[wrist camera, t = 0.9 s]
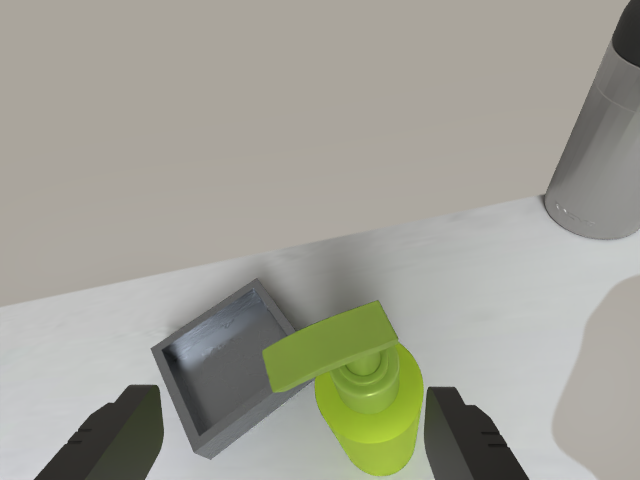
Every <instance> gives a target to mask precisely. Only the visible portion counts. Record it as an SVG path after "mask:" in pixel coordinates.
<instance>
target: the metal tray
mask: <svg viewBox="0 0 640 480" xmlns="http://www.w3.org/2000/svg"><path fill="white" fill-rule="evenodd" d="M295 332H296V331H295V329H294V328H293V327H292V325H291V324H290V323H289V321H288V320H287V319H286V317H285V316H284V315H283V313H282V312H281V310H280V309H279V308H278V306H277V305H276V304H275V302H274V301H273V300H272V298H271V297H270V295H269V294H268V293H267V291H266V290H265V289H264V287H263V286H262V285H261V283H260V282H259V280H258V279H255V280H254V281H252V282H251V283H249V284H247V285H246V286H244V287H243V288H241V289H240V290H238V291H237V292H235V293H234V294H232V295H231V296H229V297H228V298H226V299H225V300H223V301H222V302H220V303H219V304H217V305H216V306H214V307H213V308H211V309H210V310H208V311H207V312H205V313H204V314H202V315H201V316H199V317H198V318H196V319H195V320H193V321H192V322H190V323H189V324H187V325H186V326H184V327H183V328H181V329H180V330H178V331H176V332H175V333H173V334H172V335H170V336H169V337H167V338H166V339H164V340H163V341H161V342H160V343H158V344H157V345H155V346H154V347H152V348H151V351H152V353H153V356H154V358H155V360H156V363H157V365H158V368H159V370H160V372H161V375H162V377H163V380H164V382H165V384H166V387H167V389H168V392H169V394H170V396H171V399H172V401H173V404H174V406H175V408H176V411H177V413H178V416H179V418H180V420H181V423H182V425H183V428H184V430H185V432H186V435H187V437H188V440H189V442H190V444H191V447H192V449H193V452H194V453H196V454H198V455H201V456H203V457H206V458H208V459H210V460H211V459H212V458H213V457H215V456H216V455H217V454H218V453H220V452H221V451H222V450H224V449H225V448H226V447H227V446H229V445H230V444H231V443H233V442H234V441H235V440H237V439H238V438H239V437H240V436H242V435H243V434H244V433H246V432H247V431H248V430H249V429H251V428H252V427H253V426H255V425H256V424H257V423H258V422H260V421H261V420H262V419H264V418H265V417H266V416H267V415H269V414H270V413H271V412H273V411H274V410H275V409H277V408H278V407H279V406H280V405H282V404H283V403H284V402H286V401H287V400H288V399H289V398H291V397H292V396H293V395H295V394H296V393H297V392H298V391H300V390H301V389H302V388H304V387H305V386H306V385H308V384H309V383H310V382H311V381H313V380H314V379H315V377H314V378H312V379H310V380H308V381H306V382H304V383H302V384H299V385H298V386H296V387H294V388H292V389H290V390H288V391H285V392H277V393H274V392H272V389H271V385H270V381H269V378H268V374H267V370H266V366H265V362H264V358H263V354H262V351H263V350H264V349H265V348H267V347H269V346H271V345H272V344H274V343H276V342H278V341H280V340H281V339H283V338H285V337H287V336H289V335H291V334H293V333H295Z"/></svg>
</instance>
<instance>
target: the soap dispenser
mask: <svg viewBox="0 0 640 480" xmlns="http://www.w3.org/2000/svg"><path fill="white" fill-rule="evenodd" d="M262 354H263V358H264V362H265V366H266V370H267V374H268V378H269V381H270V385H271V389H272V392H274V393H277V392H285V391H288V390H290V389H292V388H294V387H296V386H298V385H299V384H302V383H304V382H306V381H308V380H310V379H312V378H314V377H315V396H316V401H317V404H318V407H319V410H320V412H321V414H322V416H323V417H324V419H325V420H326V422H327V424H328V425H329V427H330V428H331V430H332V432H333V433H334V435H335V436H336V438H337V439H338V441H339V443H340V444H341V446H342V447H343V449H344V450H345V452H346V454H347V455H348V457H349V458H350V460H351V461H352V462H353V463H354V465H356V466H357V467H358V468H359V469H360V470H362V471H364V472H366V473H368V474H371V475H374V476H387V475H391V474H394V473H396V472H398V471H399V470H401V469H402V468H403V467H404V466H405V465H406V464H407V463H408V461H409V460H410V458H411V456H412V454H413V451H414V448H415V442H416V436H417V430H418V424H419V419H420V413H421V407H422V401H423V393H424V387H423V379H422V375H421V371H420V369H419V366H418V364H417V362H416V361H415V359H414V357H413V356H412V355H411V353H410V352H409V351H408V350H407V349H406V348H405V347H404V346H403V345H401V344H400V343H399V342H398V337H397V335H396V333H395V331H394V329H393V327H392V325H391V324H390V322H389V320H388V318H387V316H386V314H385V312H384V310H383V308H382V306H381V304H380V303H379V301H378V300H377V301H374V302H371V303H368V304H365V305H363V306H360V307H357V308H354V309H351V310H348V311H346V312H343V313H340V314H338V315H335V316H332V317H330V318H327V319H324V320H322V321H319V322H317V323H315V324H312V325H310V326H308V327H306V328H303V329H301V330H299V331H297V332H295V333H293V334H291V335H289V336H287V337H285V338H283V339H281V340H280V341H278V342H276V343H274V344H272V345H271V346H269V347H267V348H265V349H264V350H263V351H262Z"/></svg>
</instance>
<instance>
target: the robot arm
mask: <svg viewBox="0 0 640 480" xmlns="http://www.w3.org/2000/svg"><path fill="white" fill-rule="evenodd" d="M545 206H546V209H547V211H548V213H549V214H550V216H551V217H552V218H553V219H554V220H555V221H556V222H557V223H558V224H560V225H561V226H562V227H564V228H565V229H567V230H569V231H571V232H573V233H576V234H578V235H581V236H584V237H589V238H594V239H604V240H610V239H619V238H623V237H627V236H629V235H631V234H633V233H635V232H636V231H637V230H638V229H639V228H640V0H631V1H630V2H629V3H628V5H627V6H626V8H625V9H624V11H623V13H622V15H621V17H620V20H619V22H618V24H617V27H616V30H615V31H614V34H613V37H612V39H611V41H610V43H609V46H608V48H607V50H606V53H605V55H604V57H603V60H602V62H601V65H600V67H599V69H598V71H597V74H596V77H595V79H594V81H593V84H592V86H591V88H590V91H589V93H588V96H587V98H586V100H585V103H584V105H583V107H582V109H581V112H580V114H579V117H578V119H577V122H576V124H575V126H574V128H573V130H572V133H571V135H570V138H569V140H568V142H567V145H566V147H565V149H564V152H563V154H562V156H561V159H560V161H559V163H558V166H557V168H556V170H555V172H554V175H553V177H552V180H551V182H550V184H549V187H548V189H547V192H546V194H545ZM163 436H164V427H163V417H162V408H161V399H160V390H159V387H158V386H157V385H129V386H128V387H127V388H126V389H125V390H124V392H123V393H122V394H121V395H120V396H119V398H118V399H117V400H116V401H115V402H114V403H107V404H106V405H104V406H103V407H101V408H100V409H98V410H97V411H96V412H94V413H93V414H91V415H90V416H89V417H88V418H87V420H86V421H85V422H84V423H83V424H82V425H81V426H80V428H79V429H78V432H75V433H74V434H73V436H72V437H71V438H70V439H69V440H68V443H67V444H65V445H64V446H63V447H62V448H61V449H60V450H59V452H58V453H57V454H56V455H55V456H54V457H53V458H52V460H51V461H50V462H49V463H48V464H47V465H46V466H45V468H44V469H43V470H42V471H41V472H40V473H39V474H38V476H37V477H36V478H35V479H34V480H145V478H146V477H147V475H148V473H149V471H150V469H151V467H152V465H153V464H154V462H155V460H156V458H157V456H158V454H159V452H160V450H161V446H162V443H163ZM424 443H425V449H426V454H427V457H428V460H429V463H430V466H431V469H432V472H433V475H434V478H435V480H529V478H528V477H527V475H526V473H525V472H524V470H523V469H522V467H521V466H520V464H519V462H518V461H517V459H516V458H515V456H514V454H513V453H512V451H511V450H510V448H509V447H507V443H506V442H505V440H504V439H503V437H502V435H500V433H499V431H498V429H497V427H496V426H495V424H494V423H493V421H492V419H491V418H490V417H489V416H488V415H487V414H485V413H484V412H483V411H482V410H480V409H479V408H478V407H477V406H476V405H465V403H464V401H463V400H462V398H461V396H460V394H459V393H458V391H457V389H456V388H455V387H428V390H427V397H426V410H425V424H424Z"/></svg>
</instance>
